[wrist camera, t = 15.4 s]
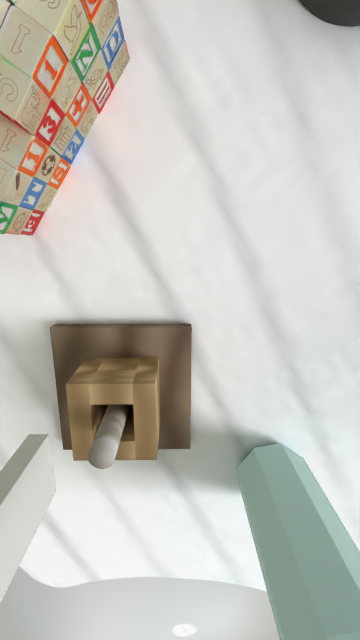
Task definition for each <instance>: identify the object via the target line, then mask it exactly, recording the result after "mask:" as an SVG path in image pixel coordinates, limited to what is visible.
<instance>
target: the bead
mask: <svg viewBox="0 0 360 640" xmlns="http://www.w3.org/2000/svg"><path fill="white" fill-rule="evenodd" d="M66 393H67V402H68V412H69V421H70V431H71V440H72V450H73V459H74V460H88V452H89V450H90V448H91V445H92V443H93V440H94V438H95V436H96V433H97V431H98V428H99V426H100V424H101V421H102V419H103V416H104V414H105V412H106V409H107V407H108V404H133V407H129V411H128V415H127V418H126V422H125V425H124V429H123V432H122V436H121V439H120V443H119V446H118V450H117V453H116V457H115V460H157V453H158V441H159V430H160V388H159V358H86V359H85V360H84V362H83V363H82V364H81V365H80V367H79V368H78V369H77V370H76V372H75V373H74V374H73V376H72V377H71V378H70V379H69V381H68V382H67V383H66Z"/></svg>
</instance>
